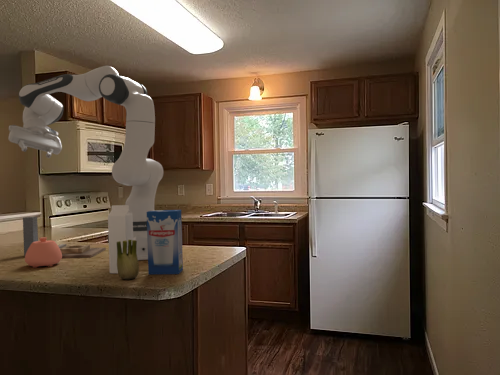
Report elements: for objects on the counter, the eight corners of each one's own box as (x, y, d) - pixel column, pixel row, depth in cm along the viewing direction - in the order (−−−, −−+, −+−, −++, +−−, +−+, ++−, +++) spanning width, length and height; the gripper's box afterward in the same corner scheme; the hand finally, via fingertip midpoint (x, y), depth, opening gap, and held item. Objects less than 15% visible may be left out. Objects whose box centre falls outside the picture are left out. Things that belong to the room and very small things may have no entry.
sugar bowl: (21, 270, 148) (20, 240, 148) (30, 262, 162) (29, 235, 161) (59, 267, 151) (58, 238, 151) (65, 260, 165) (64, 233, 165)
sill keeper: (105, 249, 188) (105, 242, 188) (91, 257, 170) (91, 249, 170) (55, 251, 187) (55, 244, 187) (35, 258, 169) (35, 251, 169)
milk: (127, 273, 138) (125, 205, 137) (109, 273, 139) (107, 206, 138) (134, 269, 144) (132, 204, 143) (117, 269, 145) (115, 204, 144)
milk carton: (148, 274, 136) (146, 211, 135) (153, 270, 142) (151, 210, 142) (179, 274, 135) (177, 211, 135) (183, 269, 142) (181, 209, 141)
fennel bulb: (115, 280, 129) (114, 240, 128) (124, 276, 133) (123, 238, 133) (133, 281, 127) (132, 241, 127) (141, 277, 132) (140, 238, 132)
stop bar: (38, 254, 180) (37, 216, 180) (33, 256, 176) (32, 217, 176) (28, 254, 180) (27, 216, 180) (24, 256, 176) (22, 217, 176)
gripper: (11, 118, 172) (12, 140, 164) (62, 133, 186) (65, 154, 178) (5, 129, 175) (5, 151, 167) (55, 143, 189) (58, 165, 180)
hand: (36, 153), depth 172 cm, fingers open, 8 cm apart
